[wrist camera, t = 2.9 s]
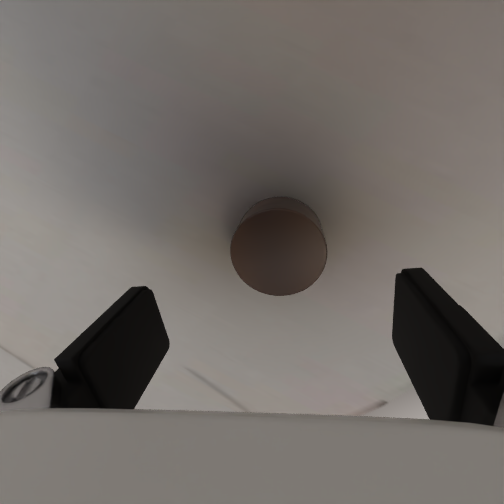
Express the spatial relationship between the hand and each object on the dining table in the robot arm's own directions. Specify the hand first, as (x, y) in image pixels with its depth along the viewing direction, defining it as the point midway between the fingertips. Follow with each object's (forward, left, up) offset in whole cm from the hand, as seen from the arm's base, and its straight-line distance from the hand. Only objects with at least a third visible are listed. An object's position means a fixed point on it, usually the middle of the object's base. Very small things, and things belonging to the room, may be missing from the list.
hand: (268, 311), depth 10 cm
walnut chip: (0, 0, -7) cm, 7 cm away
